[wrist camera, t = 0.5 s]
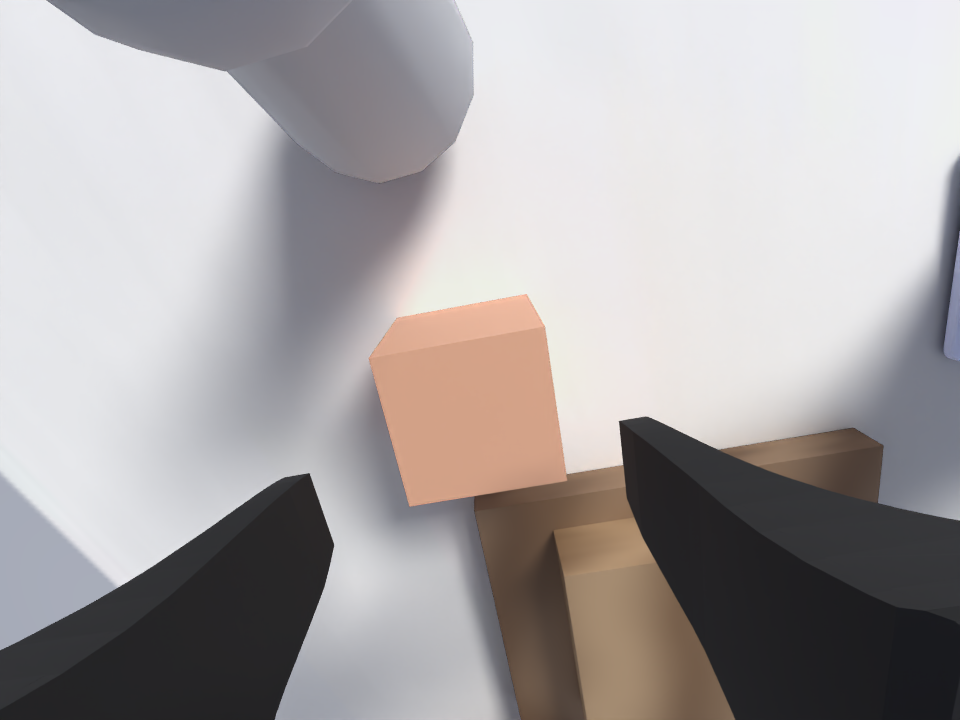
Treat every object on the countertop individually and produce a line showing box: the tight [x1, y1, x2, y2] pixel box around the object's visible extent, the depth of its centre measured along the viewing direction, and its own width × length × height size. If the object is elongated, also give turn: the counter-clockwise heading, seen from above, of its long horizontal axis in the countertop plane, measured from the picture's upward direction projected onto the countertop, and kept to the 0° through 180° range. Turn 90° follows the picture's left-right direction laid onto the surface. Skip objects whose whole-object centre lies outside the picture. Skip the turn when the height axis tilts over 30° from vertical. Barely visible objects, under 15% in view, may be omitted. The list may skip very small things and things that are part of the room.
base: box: [474, 428, 883, 720], centre depth 20 cm, size 16×13×4 cm
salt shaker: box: [47, 0, 474, 184], centre depth 9 cm, size 6×6×13 cm
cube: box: [369, 294, 567, 507], centre depth 16 cm, size 5×5×5 cm
